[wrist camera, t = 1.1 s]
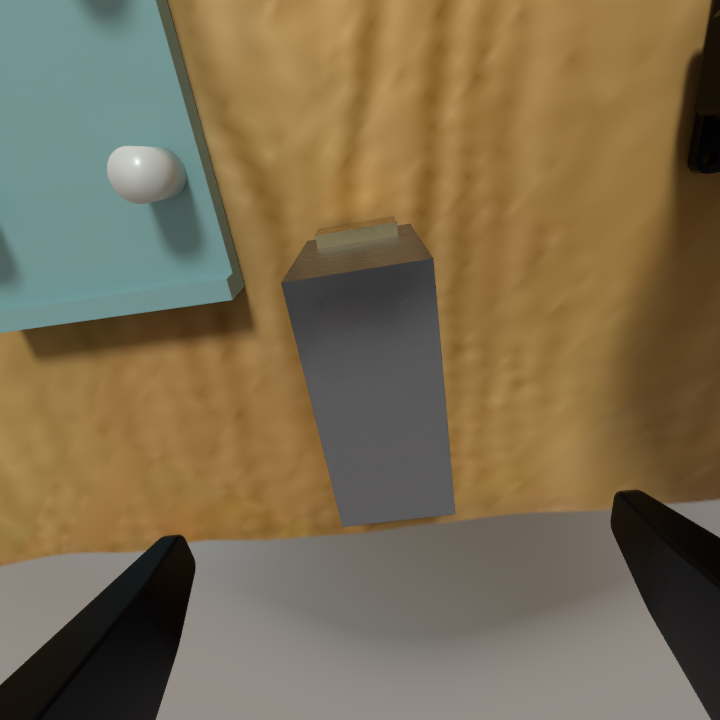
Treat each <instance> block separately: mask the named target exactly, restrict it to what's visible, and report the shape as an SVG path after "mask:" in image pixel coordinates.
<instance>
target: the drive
mask: <svg viewBox="0 0 720 720" xmlns="http://www.w3.org/2000/svg"><path fill="white" fill-rule="evenodd" d="M315 238H316V240H310V241H307V242H306V244H305V246H304V247H303V249H302V250H301V252H300V254H299V255H298V257H297V258H296V260H295V262H294V263H293V265H292V266H291V268H290V270H289V271H288V273H287V274H286V276H285V277H284V279H283V281H282V282H281V284H282V288H283V292H284V296H285V300H286V304H287V308H288V312H289V316H290V320H291V324H292V328H293V332H294V336H295V340H296V344H297V348H298V352H299V356H300V360H301V364H302V368H303V372H304V376H305V379H306V383H307V387H308V391H309V395H310V399H311V403H312V407H313V411H314V415H315V419H316V423H317V427H318V431H319V435H320V439H321V443H322V447H323V451H324V455H325V459H326V463H327V467H328V471H329V475H330V479H331V483H332V487H333V491H334V495H335V499H336V503H337V507H338V511H339V515H340V519H341V523H342V527H347V526H356V525H365V524H373V523H382V522H391V521H400V520H408V519H417V518H426V517H435V516H443V515H452V514H455V504H454V492H453V481H452V469H451V458H450V446H449V435H448V423H447V412H446V400H445V389H444V377H443V366H442V354H441V343H440V331H439V320H438V308H437V297H436V285H435V274H434V262H433V257H432V256H431V254H430V253H429V251H428V250H427V248H426V247H425V245H424V244H423V242H422V241H421V240H420V238H419V237H418V235H417V234H416V232H415V231H414V229H413V228H412V226H411V225H410V224H406V225H400V226H397V222H396V220H395V218H394V216H393V217H387V218H381V219H375V220H369V221H363V222H357V223H352V224H346V225H340V226H334V227H328V228H322V229H319V230H318V231H317V233H316V235H315Z"/></svg>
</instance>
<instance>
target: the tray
mask: <svg viewBox="0 0 720 720" xmlns="http://www.w3.org/2000/svg"><path fill="white" fill-rule="evenodd" d="M244 287H245V285H244V282H243V278H242V274H241V271H240V267H239V263H238V260H237V256H236V252H235V249H234V245H233V241H232V237H231V234H230V230H229V226H228V223H227V219H226V215H225V212H224V208H223V204H222V201H221V197H220V193H219V190H218V186H217V182H216V179H215V175H214V171H213V168H212V164H211V160H210V157H209V153H208V149H207V146H206V142H205V138H204V135H203V131H202V127H201V124H200V120H199V116H198V113H197V109H196V105H195V102H194V98H193V94H192V91H191V87H190V83H189V80H188V76H187V72H186V69H185V65H184V61H183V58H182V54H181V50H180V47H179V43H178V39H177V36H176V32H175V28H174V25H173V21H172V17H171V14H170V10H169V6H168V3H167V0H0V333H3V332H10V331H17V330H24V329H31V328H38V327H45V326H52V325H59V324H67V323H74V322H81V321H88V320H95V319H102V318H109V317H116V316H123V315H130V314H137V313H144V312H152V311H159V310H166V309H173V308H180V307H187V306H194V305H201V304H208V303H215V302H222V301H229V300H233V299H234V298H235V297H236V296H237V294H238V293H239V292H240V291H241V290H242V289H243V288H244Z"/></svg>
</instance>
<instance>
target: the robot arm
mask: <svg viewBox="0 0 720 720" xmlns="http://www.w3.org/2000/svg"><path fill="white" fill-rule="evenodd" d="M696 110H697V113H696V118H695V124H694V129H693V135H692V141H691V146H690V152H689V158H688V167H689V169H690V170H691V171H692V172H694V173H703V174H710V173H717V172H720V0H716V5H715V11H714V17H713V18H712V20H711V22H710V28H709V34H708V39H707V45H706V51H705V56H704V62H703V68H702V73H701V79H700V85H699V91H698V96H697V102H696ZM708 152H710V155H711V157H710V159H709V161H708V162H707V163H706V164H704V161H703V159H704V157H705V155H706V154H707V153H708ZM611 529H612V532H613V534H614V537H615V538H616V541H617V543H618V545H619V548H620V550H621V552H622V554H623V556H624V559H625V561H626V563H627V565H628V567H629V570H630V572H631V574H632V576H633V578H634V580H635V583H636V585H637V587H638V589H639V592H640V593H641V596H642V598H643V600H644V602H645V604H646V606H647V608H648V610H649V612H650V614H651V616H652V618H653V620H654V621H655V623H656V625H657V627H658V628H659V630H660V632H661V634H662V635H663V637H664V639H665V641H666V642H667V644H668V646H669V647H670V649H671V651H672V653H673V654H674V656H675V657H676V660H677V661H678V663H679V665H680V666H681V668H682V670H683V672H684V673H685V675H686V677H687V679H688V680H689V682H690V684H691V685H692V687H693V689H694V690H695V692H696V694H697V696H698V698H699V699H700V701H701V703H702V705H703V706H704V708H705V710H706V711H707V713H708V715H709V717H710V718H711V720H720V538H719V537H718V536H716V535H714V534H713V533H711V532H709V531H707V530H706V529H704V528H702V527H701V526H699V525H697V524H696V523H694V522H692V521H691V520H689V519H687V518H686V517H684V516H682V515H681V514H679V513H677V512H675V511H674V510H672V509H671V508H669V507H667V506H666V505H664V504H662V503H661V502H659V501H657V500H656V499H654V498H652V497H651V496H649V495H647V494H646V493H644V492H642V491H640V490H626V491H619V492H617V493H616V494H615V496H614V501H613V507H612V514H611ZM195 567H196V566H195V560H194V557H193V555H192V553H191V550H190V548H189V546H188V544H187V542H186V540H185V538H184V537H183V536H182V535H169V536H164V537H162V538H160V539H159V540H158V541H157V542H155V543H154V544H153V545H152V546H151V547H150V548H149V549H148V550H147V551H146V552H145V553H144V554H142V555H141V556H140V557H139V558H138V559H137V560H136V561H135V562H134V563H133V564H132V565H130V566H129V567H128V568H127V569H126V570H125V571H124V572H123V573H122V574H121V575H120V576H119V577H118V578H116V579H115V580H114V581H113V582H112V583H111V584H110V585H109V586H108V587H107V588H105V589H104V590H103V591H102V592H101V593H100V594H99V595H98V596H97V597H96V598H95V599H94V600H92V601H91V602H90V603H89V604H88V605H87V606H86V607H85V608H84V609H83V610H81V611H80V612H79V613H78V614H77V615H76V616H75V617H74V618H73V619H72V620H71V621H70V622H68V623H67V624H66V625H65V626H64V627H63V628H62V629H61V630H60V631H59V632H58V633H56V634H55V635H54V636H53V637H52V638H51V639H50V640H49V641H48V642H47V643H46V644H44V645H43V646H42V647H41V648H40V649H39V650H38V651H37V652H36V653H35V654H34V655H33V656H31V657H30V658H29V659H28V660H27V661H26V662H25V663H24V664H23V665H22V666H21V667H20V668H19V669H17V670H16V671H15V672H14V673H13V674H12V675H11V676H10V677H9V678H7V679H6V680H5V681H4V682H3V683H2V684H1V685H0V720H156V717H157V714H158V711H159V707H160V704H161V701H162V698H163V695H164V692H165V689H166V685H167V682H168V679H169V676H170V673H171V670H172V667H173V663H174V660H175V657H176V654H177V650H178V647H179V643H180V638H181V634H182V629H183V625H184V621H185V616H186V611H187V607H188V602H189V598H190V593H191V588H192V584H193V579H194V575H195Z"/></svg>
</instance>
